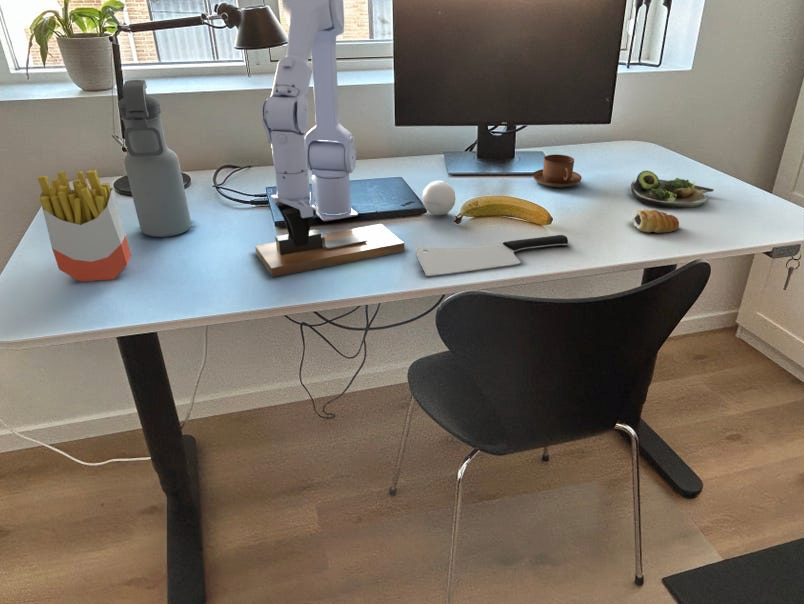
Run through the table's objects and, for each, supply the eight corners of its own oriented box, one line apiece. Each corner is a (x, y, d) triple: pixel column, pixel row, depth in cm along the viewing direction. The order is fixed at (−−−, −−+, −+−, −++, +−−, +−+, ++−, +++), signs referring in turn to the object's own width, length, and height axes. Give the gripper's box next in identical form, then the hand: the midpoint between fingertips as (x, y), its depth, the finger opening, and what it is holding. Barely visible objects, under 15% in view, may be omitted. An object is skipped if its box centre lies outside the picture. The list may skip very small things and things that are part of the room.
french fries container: (129, 278, 116) (102, 177, 106) (62, 283, 113) (28, 180, 104) (134, 267, 119) (108, 169, 109) (69, 272, 117) (37, 172, 107)
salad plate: (703, 186, 165) (707, 167, 163) (723, 211, 150) (728, 191, 148) (625, 182, 166) (628, 164, 164) (638, 207, 151) (641, 188, 149)
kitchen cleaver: (426, 272, 118) (412, 244, 125) (426, 280, 119) (412, 252, 126) (582, 254, 126) (560, 229, 134) (581, 262, 127) (559, 237, 135)
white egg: (447, 206, 149) (448, 174, 145) (460, 218, 143) (461, 184, 139) (405, 211, 146) (405, 179, 142) (417, 223, 140) (417, 190, 136)
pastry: (671, 222, 144) (675, 205, 142) (683, 234, 138) (687, 217, 136) (629, 222, 143) (632, 205, 141) (639, 234, 138) (643, 217, 136)
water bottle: (191, 236, 132) (161, 88, 116) (139, 241, 129) (100, 90, 114) (192, 218, 140) (164, 77, 124) (143, 222, 137) (108, 79, 122)
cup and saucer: (590, 186, 163) (594, 161, 160) (554, 194, 158) (557, 168, 154) (558, 173, 172) (560, 149, 168) (522, 180, 166) (524, 156, 162)
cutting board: (256, 254, 125) (254, 245, 124) (381, 231, 136) (381, 223, 135) (272, 277, 117) (271, 268, 116) (404, 251, 128) (404, 242, 127)
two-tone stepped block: (276, 250, 122) (275, 236, 121) (360, 235, 129) (359, 221, 128) (282, 257, 120) (280, 243, 118) (367, 241, 127) (366, 228, 125)
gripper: (257, 160, 119) (267, 231, 126) (280, 184, 108) (289, 260, 115) (295, 156, 121) (302, 225, 129) (322, 178, 111) (328, 253, 118)
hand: (299, 241), depth 122 cm, fingers closed on two-tone stepped block, 2 cm apart
